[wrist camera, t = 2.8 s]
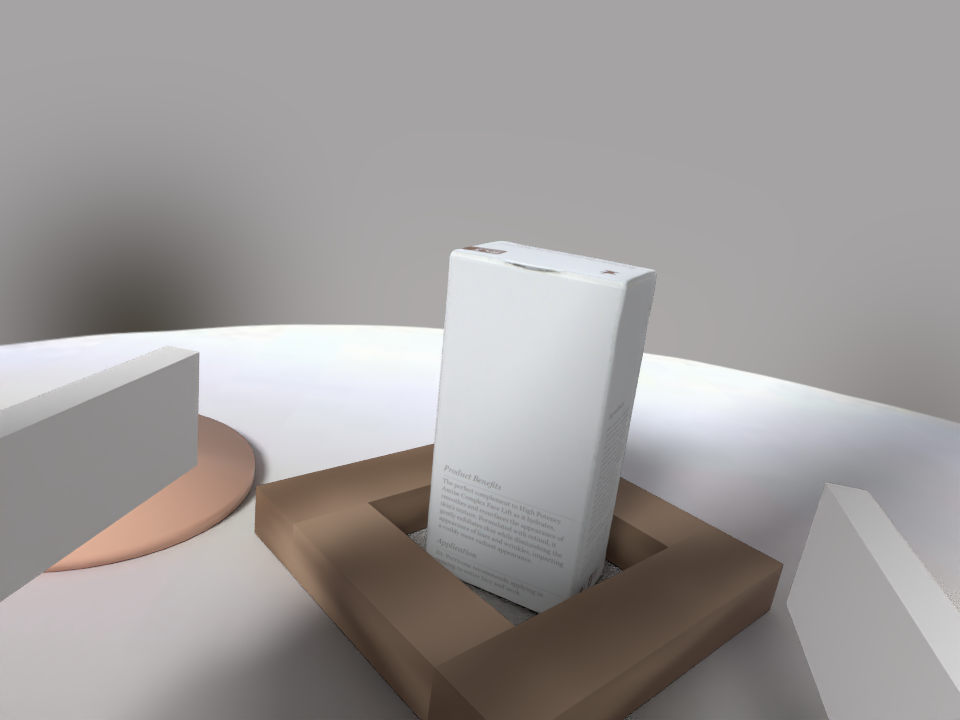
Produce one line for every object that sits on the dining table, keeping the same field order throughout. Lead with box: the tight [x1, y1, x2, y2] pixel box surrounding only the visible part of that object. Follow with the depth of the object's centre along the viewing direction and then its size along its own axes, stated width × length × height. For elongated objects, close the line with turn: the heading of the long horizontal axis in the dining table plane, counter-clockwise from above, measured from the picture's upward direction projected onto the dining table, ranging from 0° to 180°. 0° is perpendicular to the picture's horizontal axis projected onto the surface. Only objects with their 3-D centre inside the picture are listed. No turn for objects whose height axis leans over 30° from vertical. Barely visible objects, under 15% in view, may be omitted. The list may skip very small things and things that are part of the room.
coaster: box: [44, 414, 255, 572], centre depth 28 cm, size 13×13×1 cm
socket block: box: [255, 444, 783, 720], centre depth 26 cm, size 14×14×2 cm
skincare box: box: [425, 241, 657, 613], centre depth 24 cm, size 6×4×12 cm
